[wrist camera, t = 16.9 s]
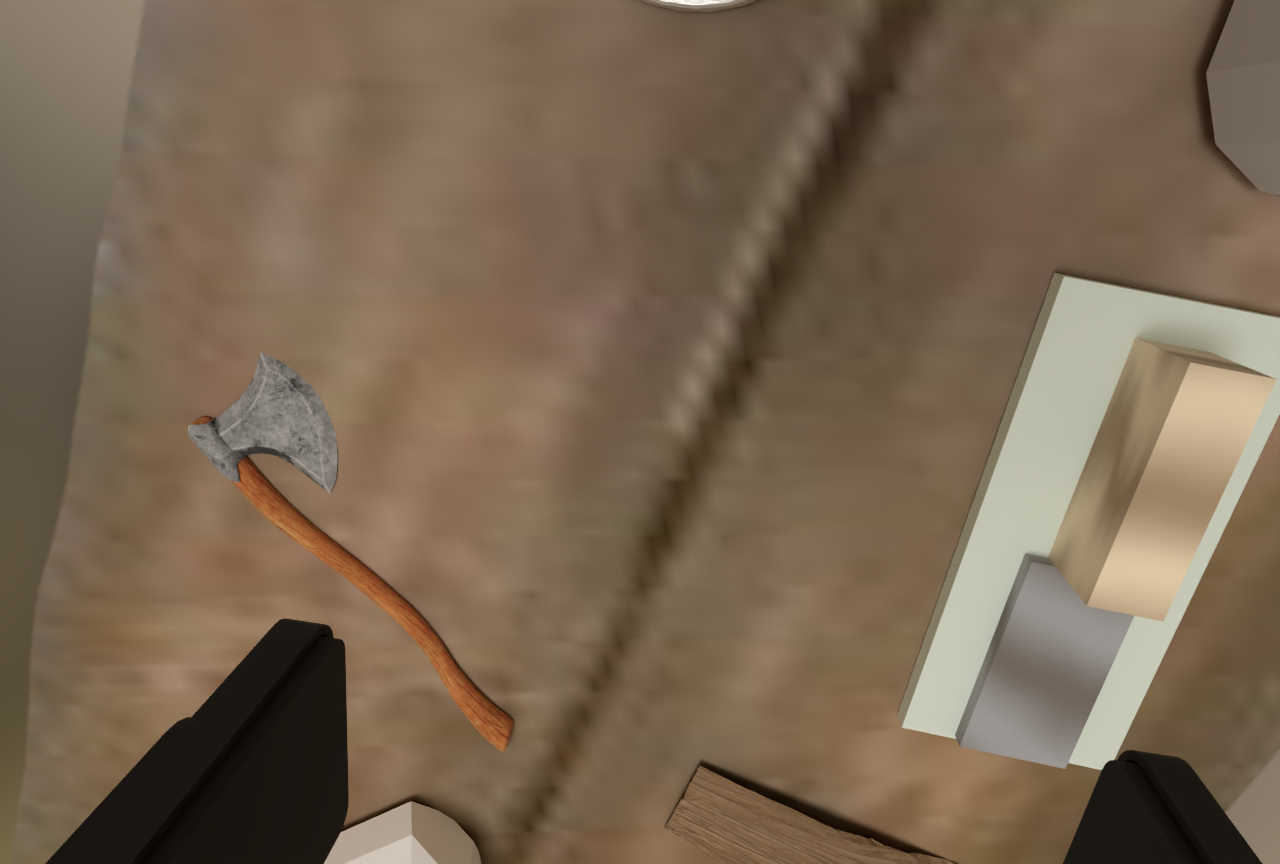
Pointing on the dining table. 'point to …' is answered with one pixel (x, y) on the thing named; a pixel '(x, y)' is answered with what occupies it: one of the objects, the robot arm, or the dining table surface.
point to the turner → (1113, 547)
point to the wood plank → (769, 830)
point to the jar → (1249, 91)
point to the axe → (304, 436)
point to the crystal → (405, 839)
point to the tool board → (1047, 477)
